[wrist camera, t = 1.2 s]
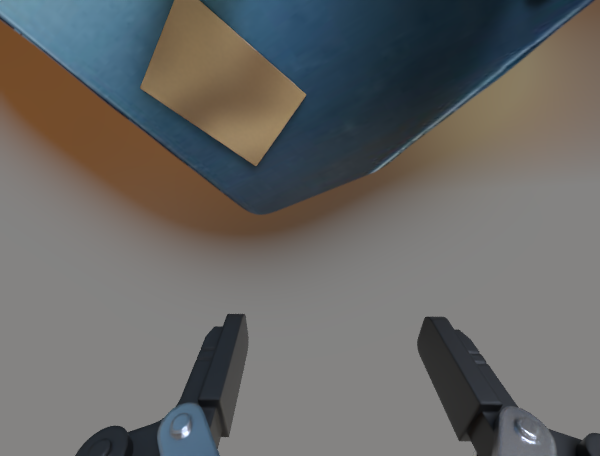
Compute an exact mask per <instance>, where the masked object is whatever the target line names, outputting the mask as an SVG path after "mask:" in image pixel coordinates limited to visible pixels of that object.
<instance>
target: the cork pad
mask: <svg viewBox="0 0 600 456" xmlns="http://www.w3.org/2000/svg"><path fill="white" fill-rule="evenodd" d="M140 88H141V89H142V90H144V91H145V92H146V93H148V94H149V95H151V96H152V97H154V98H155V99H157V100H158V101H160V102H161V103H163V104H164V105H166V106H167V107H169V108H170V109H172V110H173V111H175V112H176V113H178V114H179V115H181V116H182V117H183V118H185V119H186V120H188V121H189V122H191V123H192V124H194V125H195V126H197V127H198V128H200V129H201V130H203V131H204V132H206V133H207V134H209V135H210V136H212V137H213V138H215V139H216V140H218V141H219V142H221V143H222V144H223V145H225V146H226V147H228V148H229V149H231V150H232V151H234V152H235V153H237V154H238V155H240V156H241V157H243V158H244V159H246V160H247V161H249V162H250V163H252V164H253V165H255V166H257V165H258V163H259V162H260V161H261V159H262V158H263V156H264V155H265V153H266V152H267V151H268V149H269V148H270V146H271V145H272V143H273V142H274V141H275V139H276V138H277V136H278V135H279V133H280V132H281V131H282V129H283V128H284V126H285V125H286V123H287V122H288V121H289V119H290V118H291V116H292V115H293V113H294V112H295V111H296V109H297V108H298V106H299V105H300V104H301V102H302V101H303V99H304V98H305V96H306V94H305V93H304V92H303V91H302V90H301V89H300V88H298V87H297V86H296V85H295V84H294V83H293V82H292V81H290V80H289V79H288V78H287V77H286V76H285V75H284V74H283V73H281V72H280V71H279V70H278V69H277V68H276V67H275V66H273V65H272V64H271V63H270V62H269V61H268V60H267V59H266V58H264V57H263V56H262V55H261V54H260V53H259V52H258V51H257V50H255V49H254V48H253V47H252V46H251V45H250V44H249V43H247V42H246V41H245V40H244V39H243V38H242V37H241V36H240V35H238V34H237V33H236V32H235V31H234V30H233V29H232V28H230V27H229V26H228V25H227V24H226V23H225V22H224V21H223V20H221V19H220V18H219V17H218V16H217V15H216V14H215V13H213V12H212V11H211V10H210V9H209V8H208V7H207V6H206V5H204V4H203V3H202V2H201V1H200V0H174V2H173V5H172V7H171V10H170V12H169V15H168V18H167V20H166V23H165V25H164V28H163V30H162V33H161V36H160V38H159V41H158V43H157V46H156V48H155V51H154V53H153V56H152V59H151V61H150V64H149V66H148V69H147V71H146V74H145V76H144V79H143V82H142V84H141V87H140Z"/></svg>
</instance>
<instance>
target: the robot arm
mask: <svg viewBox="0 0 600 456" xmlns="http://www.w3.org/2000/svg"><path fill="white" fill-rule="evenodd" d="M417 346H418V351H419V354H420V357H421V359H422V361H423V363H424V365H425V368H426V369H427V372H428V374H429V376H430V379H431V380H432V383H433V385H434V387H435V389H436V392H437V394H438V396H439V398H440V400H441V403H442V405H443V407H444V409H445V411H446V413H447V416H448V418H449V420H450V422H451V424H452V427H453V429H454V431H455V433H456V435H457V437H458V440H459V441H471V442H472V444H473V446H474V448H475V451H474V454H473V456H600V434H598V433H591V434H589V435H588V436H586V437H585V438H584V439H583V440H580V439H577V438H574V437H571V436H568V435H565V434H562V433H559V432H556V431H553V430H550V429H548V428H546V426H545V425H544V424H543V423H542V422H541V421H540V420H538V419H537V418H536V417H535V416H533V415H532V414H531V413H529V412H527V411H525V410H523V409H521V408H519V407H518V406H517V405H516V404H515V402H514V401H513V399H512V398H511V396H510V395H509V394H508V392H507V391H506V390H505V388H504V386H503V385H502V384H501V382H500V381H499V379H498V378H497V376H496V375H495V374H494V372H493V371H492V369H491V368H490V366H489V365H488V364H486V361H485V359H484V358H483V356H482V355H481V354H479V351H478V349H477V348H476V346H475V345H474V344H473V342H472V341H471V340H470V339H469V338H468V337H467V336H466V335H465V334H463V333H462V332H461V331H460V330H454V329H453V327H452V326H451V324H450V322H449V321H448V320H447V319H446V318H445V317H425V319H424V321H423V324H422V328H421V331H420V334H419V337H418V341H417ZM247 351H248V331H247V324H246V316H245V314H228V315H227V317H226V320H225V322H224V325H223V327H214V328H213V329H212V330H211V331H210V332H209V333H208V335H207V336H206V337H205V340H204V342H203V345H202V347H201V350H200V352H199V355H198V357H197V360H196V362H195V364H194V367H193V369H192V372H191V374H190V377H189V379H188V382H187V384H186V386H185V389H184V392H183V394H182V397H181V399H180V401H179V402H178V404H177V406H176V407H175V408H174V409H172V410H171V411H170V412H169V413H168V414H167V415H166V416H165V417H164V418H163V419H162V420H160V421H158V422H156V423H154V424H151V425H148V426H145V427H142V428H139V429H136V430H133V431H130V432H127V431H126V430H125V429H124V428H123V427H120V426H110V427H107V428H105V429H102V430H100V431H99V432H97V433H96V434H94V435H93V436H92V437H90V438H89V439H88V440H87V441H86V442H85V443H84V444H83V446H82V447H81V448H80V449H79V451H78V452H77V454H76V455H75V456H220V455H219V452H218V450H217V449H218V445H219V441H220V437H229V434H230V429H231V424H232V420H233V415H234V411H235V406H236V402H237V397H238V393H239V388H240V383H241V378H242V374H243V370H244V365H245V360H246V356H247Z"/></svg>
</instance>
